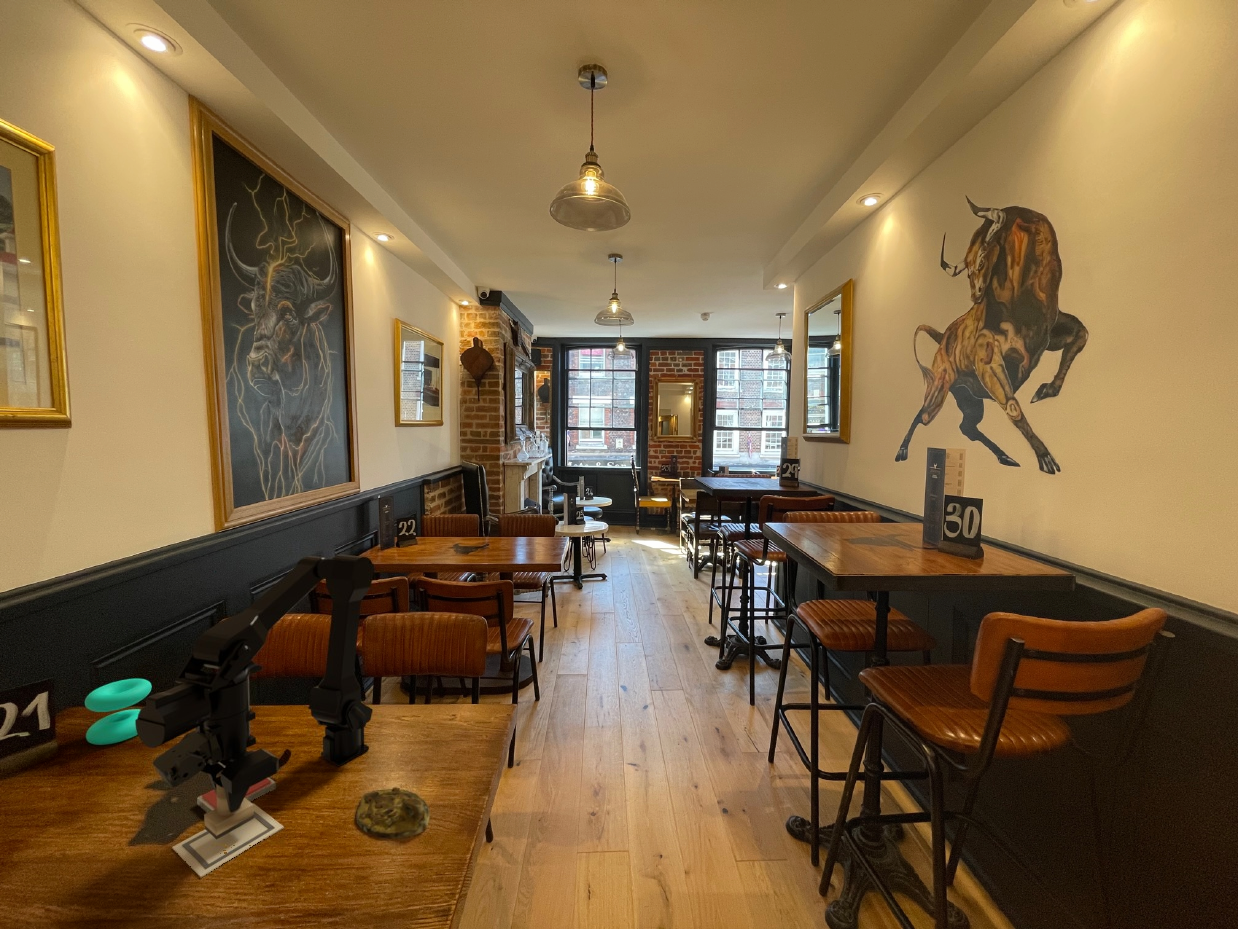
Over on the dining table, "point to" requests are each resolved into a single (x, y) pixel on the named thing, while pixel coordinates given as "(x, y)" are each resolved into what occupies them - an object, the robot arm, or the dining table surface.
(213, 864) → the card
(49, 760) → the dining table surface
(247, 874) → the dining table surface
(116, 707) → the donuts
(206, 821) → the stamp
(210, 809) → the ink pad
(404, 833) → the olive brown oval relief
